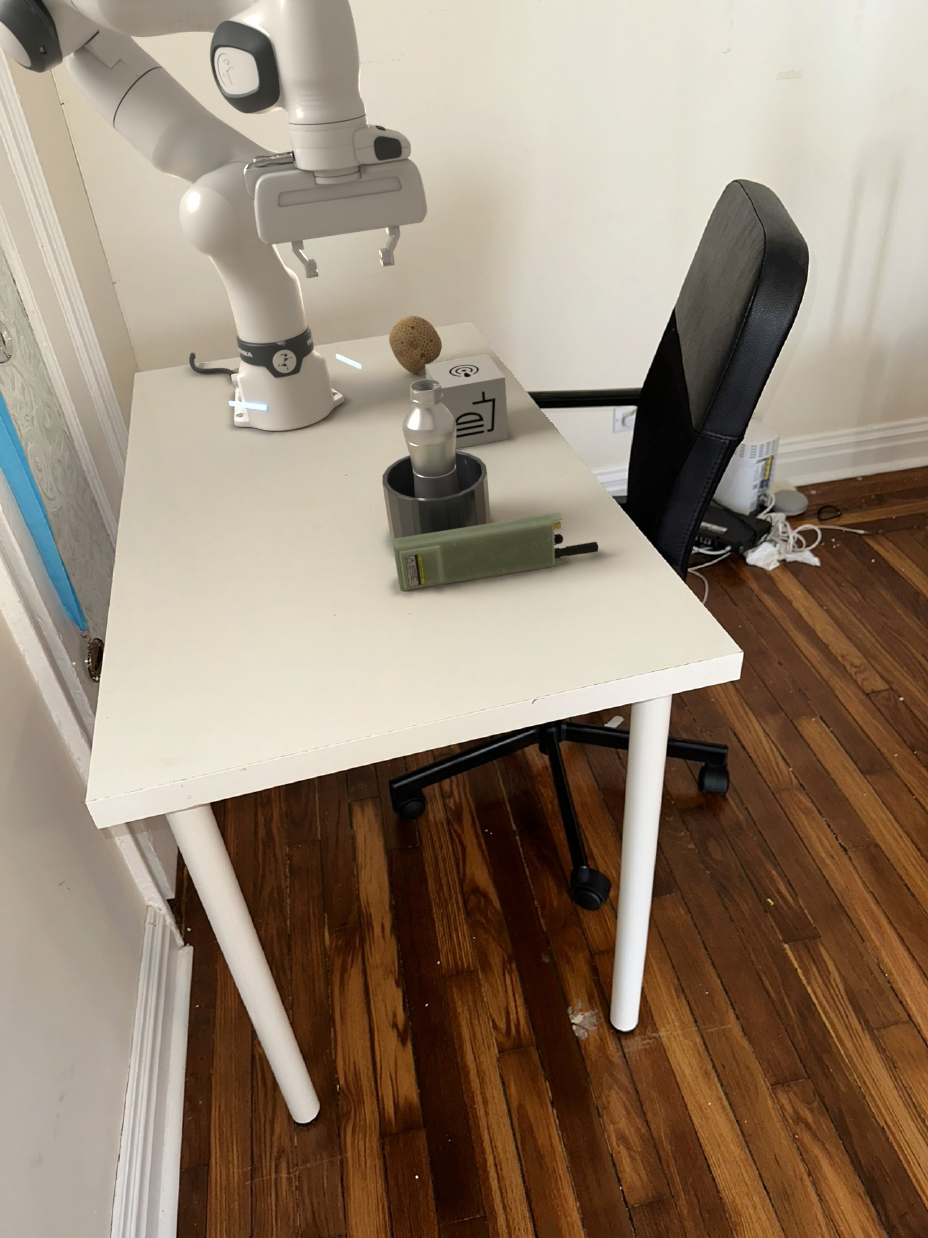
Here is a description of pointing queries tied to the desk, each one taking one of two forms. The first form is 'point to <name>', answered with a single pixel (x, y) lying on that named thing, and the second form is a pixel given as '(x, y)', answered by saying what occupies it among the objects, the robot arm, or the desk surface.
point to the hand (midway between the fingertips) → (350, 270)
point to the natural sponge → (415, 343)
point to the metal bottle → (431, 441)
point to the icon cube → (473, 398)
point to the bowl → (436, 499)
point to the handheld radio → (481, 551)
